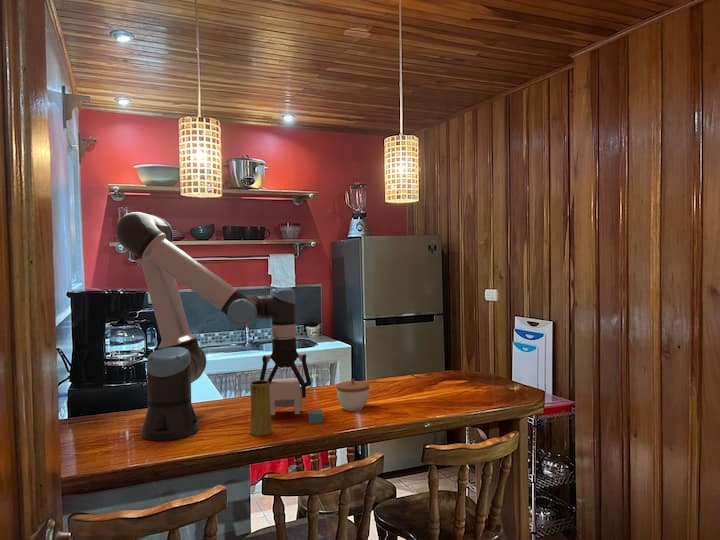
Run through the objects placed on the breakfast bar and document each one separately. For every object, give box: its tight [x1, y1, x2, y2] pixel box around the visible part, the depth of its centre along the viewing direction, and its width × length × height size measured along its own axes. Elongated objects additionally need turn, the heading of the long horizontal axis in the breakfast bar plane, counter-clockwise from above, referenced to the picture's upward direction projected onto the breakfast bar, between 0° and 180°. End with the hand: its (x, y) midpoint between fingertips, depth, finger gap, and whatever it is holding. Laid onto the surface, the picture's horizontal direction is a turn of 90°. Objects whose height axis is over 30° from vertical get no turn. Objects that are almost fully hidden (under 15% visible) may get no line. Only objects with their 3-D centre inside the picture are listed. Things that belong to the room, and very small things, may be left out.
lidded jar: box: [335, 378, 370, 412], centre depth 168 cm, size 11×11×9 cm
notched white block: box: [269, 377, 301, 416], centre depth 162 cm, size 9×9×9 cm
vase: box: [249, 379, 273, 437], centre depth 146 cm, size 6×6×14 cm
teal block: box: [308, 409, 324, 425], centre depth 155 cm, size 4×4×3 cm
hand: (285, 408), depth 162 cm, fingers closed on notched white block, 9 cm apart
